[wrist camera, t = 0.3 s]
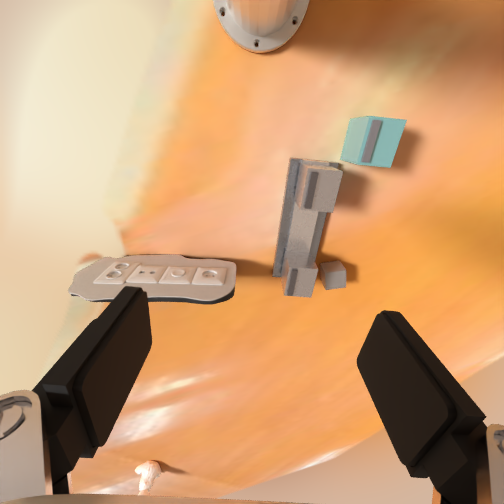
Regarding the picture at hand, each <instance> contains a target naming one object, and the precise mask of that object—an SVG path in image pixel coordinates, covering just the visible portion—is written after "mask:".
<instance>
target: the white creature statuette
mask: <svg viewBox="0 0 504 504" xmlns="http://www.w3.org/2000/svg"><path fill="white" fill-rule="evenodd" d="M135 472H136V473H138V474H139V475H140V474H142V478H141V479H140V483H139V489H140V492H139V493H138V495H146V496H150V493H149V490H150V489H151V487H152V486H153V482H154V480H155V478H158V477H159V476H160V475H161V469H160V466H159V464H158V462H156V461H147V462H145V463H143V464H141V465H139V466H138V467H137V468H136V469H135Z"/></svg>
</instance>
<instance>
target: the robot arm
mask: <svg viewBox="0 0 504 504" xmlns="http://www.w3.org/2000/svg"><path fill="white" fill-rule="evenodd" d="M213 2H214V7H215V10H216V14H217V16H218V19H219V21H220V23H221V26H222V27H223V29H224V30H225V32H226V34H227V35H228V36H229V37H230V38H231V39H232V41H233V42H234V43H236V44H237V45H238V46H240V47H241V48H243V49H245V50H248V51H250V52H256V53H266V52H270V51H273V50H276V49H278V48H279V47H281V46H283V45H284V44H285V43H286V42H287V41H289V40H290V39H291V38H292V36H293V35H294V34H295V32H296V31H297V30H298V28H299V26H300V24H301V22H302V21H303V18H304V16H305V13H306V11H307V7H308V4H309V0H213ZM223 12H224V13H225V16H222V13H223ZM293 21H295V22H296V25H293V23H292V22H293ZM256 43H258V44H259V46H258V47H256V46H255V44H256ZM151 345H152V335H151V326H150V316H149V307H148V297H147V292H146V291H143V289H142V288H141V287H133V286H125V287H124V288H123V289H122V290H121V291H120V292H119V293H118V295H117V296H116V297H115V298H114V299H113V301H112V302H111V303H110V304H109V305H108V306H107V308H106V309H105V310H104V311H103V312H102V314H101V315H100V316H99V317H98V318H97V319H95V320H93V321H92V322H91V323H90V324H89V325H88V326H87V327H86V328H85V330H84V331H83V332H82V333H81V334H80V335H79V337H78V338H77V339H76V340H75V341H74V342H73V343H72V345H71V346H70V347H69V348H68V349H67V350H66V352H65V353H64V354H63V355H62V356H61V357H60V359H59V360H58V361H57V362H56V363H55V364H54V365H53V367H52V368H51V369H50V370H49V371H48V372H47V374H46V375H45V376H44V377H43V378H42V379H41V381H40V382H39V383H38V384H37V385H36V386H35V388H34V389H33V390H32V391H28V390H20V391H13V392H10V393H7V394H4V395H1V396H0V504H308V503H289V502H270V501H251V500H250V501H249V500H231V499H230V500H229V499H210V498H189V497H168V496H146V495H110V494H73V488H72V480H71V473H70V471H72V470H73V469H74V467H75V465H76V463H77V461H78V459H79V457H81V458H93V457H94V455H95V453H96V451H97V449H98V447H102V446H103V445H104V444H105V443H106V441H107V439H108V437H109V435H110V433H111V431H112V429H113V427H114V425H115V422H116V420H117V418H118V416H119V414H120V412H121V410H122V408H123V406H124V404H125V402H126V399H127V397H128V395H129V393H130V391H131V389H132V387H133V385H134V383H135V381H136V378H137V376H138V374H139V372H140V370H141V368H142V366H143V364H144V362H145V360H146V357H147V355H148V353H149V351H150V349H151ZM357 366H358V369H359V371H360V373H361V375H362V378H363V380H364V382H365V384H366V387H367V389H368V391H369V393H370V395H371V398H372V400H373V402H374V404H375V407H376V409H377V411H378V413H379V415H380V418H381V420H382V422H383V424H384V427H385V429H386V431H387V433H388V435H389V437H390V440H391V442H392V444H393V446H394V449H395V451H396V453H397V455H398V458H399V459H400V461H401V462H402V464H404V465H406V467H407V470H408V472H409V474H410V476H411V477H416V478H428V477H430V479H431V481H432V483H433V485H434V488H433V499H432V504H504V426H503V425H499V424H491V425H490V426H488V427H487V426H486V425H485V424H484V423H483V420H484V419H485V418H486V416H485V415H484V413H483V412H482V411H481V410H480V408H479V407H478V406H477V405H476V404H475V403H474V401H473V400H472V399H471V398H470V396H469V395H468V394H467V393H466V392H465V390H464V389H463V388H462V387H461V386H460V384H459V383H458V382H457V381H456V379H455V378H454V377H453V376H452V375H451V373H450V372H449V371H448V370H447V369H446V367H445V366H444V365H443V364H442V363H441V361H440V360H439V359H438V358H437V356H436V355H435V354H434V353H433V352H432V350H431V349H430V348H429V347H428V346H427V344H426V343H425V342H424V341H423V340H422V338H421V337H420V336H419V335H418V334H417V332H416V331H415V330H414V329H413V327H412V326H411V325H410V324H409V323H408V321H407V320H406V319H405V318H404V317H403V315H402V314H401V313H400V312H396V311H386V310H384V311H382V312H381V313H380V314H377V316H376V318H375V320H374V322H373V324H372V327H371V329H370V331H369V333H368V335H367V337H366V340H365V342H364V344H363V346H362V348H361V351H360V353H359V355H358V357H357Z"/></svg>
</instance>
